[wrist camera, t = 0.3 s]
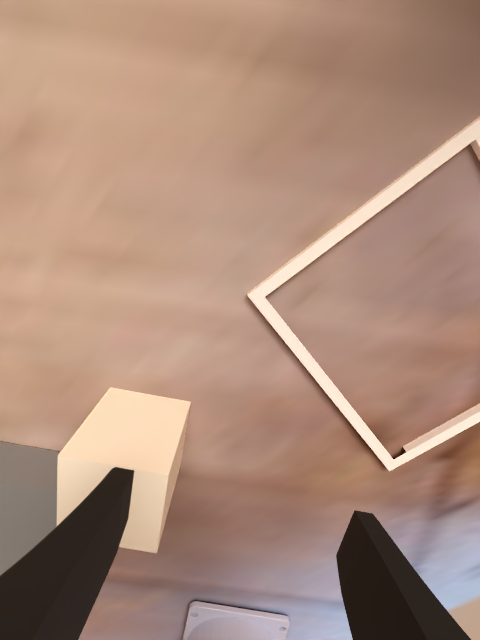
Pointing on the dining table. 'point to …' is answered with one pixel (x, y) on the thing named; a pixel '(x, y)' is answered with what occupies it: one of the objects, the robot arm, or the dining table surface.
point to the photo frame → (473, 134)
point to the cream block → (127, 459)
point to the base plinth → (25, 499)
